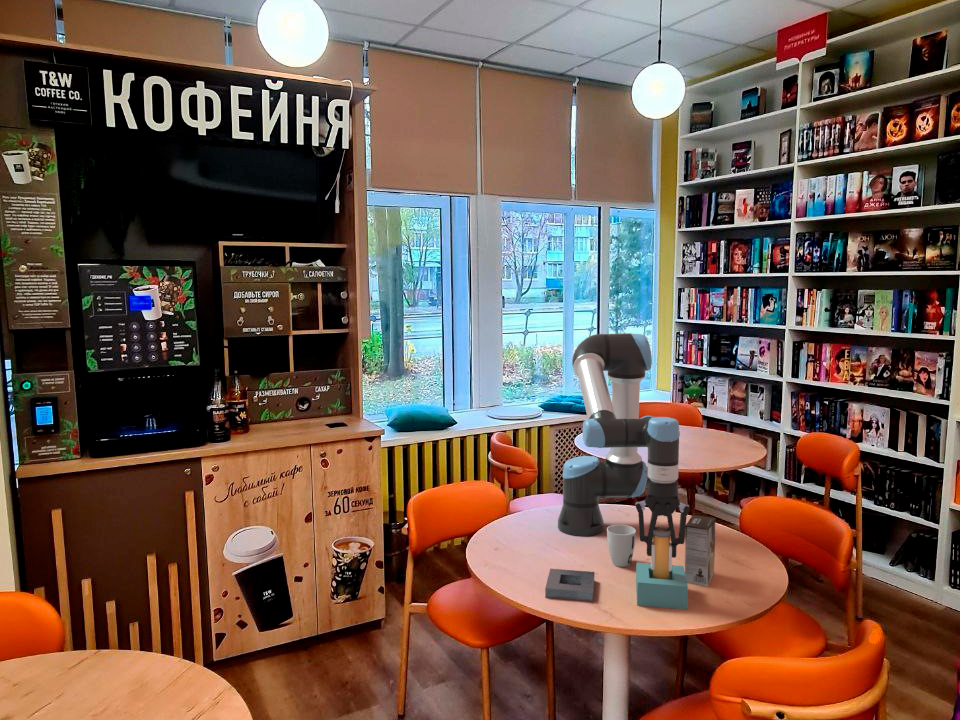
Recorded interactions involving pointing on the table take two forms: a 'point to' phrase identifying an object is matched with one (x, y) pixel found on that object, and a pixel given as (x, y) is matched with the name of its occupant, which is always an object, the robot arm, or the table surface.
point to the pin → (661, 552)
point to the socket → (661, 588)
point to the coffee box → (700, 550)
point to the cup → (621, 544)
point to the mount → (573, 592)
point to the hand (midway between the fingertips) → (661, 568)
